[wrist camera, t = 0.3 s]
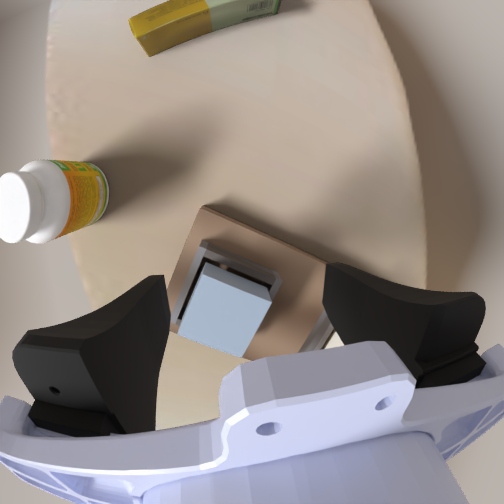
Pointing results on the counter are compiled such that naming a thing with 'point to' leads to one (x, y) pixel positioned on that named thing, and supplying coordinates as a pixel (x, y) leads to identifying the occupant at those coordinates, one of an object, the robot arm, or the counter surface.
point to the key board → (263, 273)
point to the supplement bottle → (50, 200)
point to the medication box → (193, 20)
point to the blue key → (224, 311)
